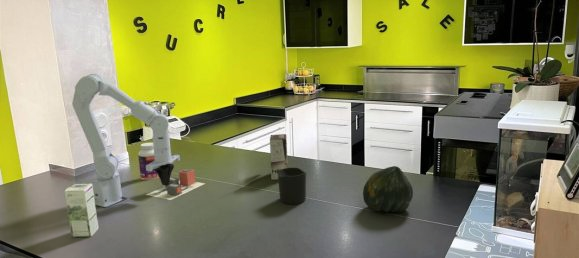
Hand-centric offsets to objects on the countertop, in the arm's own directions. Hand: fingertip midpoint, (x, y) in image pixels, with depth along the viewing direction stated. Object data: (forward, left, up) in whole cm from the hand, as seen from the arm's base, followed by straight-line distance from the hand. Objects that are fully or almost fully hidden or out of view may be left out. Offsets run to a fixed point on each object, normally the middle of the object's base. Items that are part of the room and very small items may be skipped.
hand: (165, 184), depth 155 cm
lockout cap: (+9, -2, -2) cm, 10 cm away
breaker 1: (+4, +1, -2) cm, 5 cm away
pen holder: (+14, -44, -4) cm, 47 cm away
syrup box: (-34, -2, -4) cm, 34 cm away
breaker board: (+3, -2, -4) cm, 5 cm away
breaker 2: (-1, -5, -2) cm, 6 cm away
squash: (+20, -76, -4) cm, 78 cm away
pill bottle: (+10, +18, -4) cm, 21 cm away
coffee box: (+34, -28, -4) cm, 44 cm away
